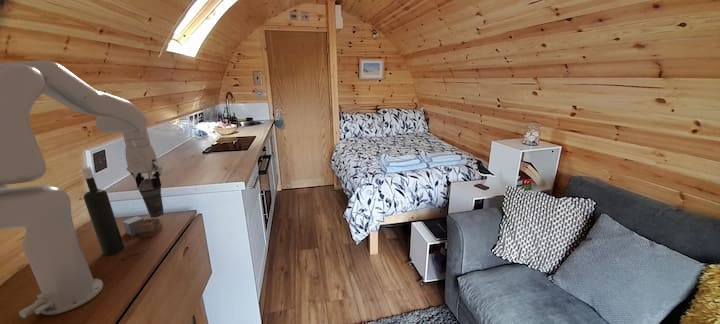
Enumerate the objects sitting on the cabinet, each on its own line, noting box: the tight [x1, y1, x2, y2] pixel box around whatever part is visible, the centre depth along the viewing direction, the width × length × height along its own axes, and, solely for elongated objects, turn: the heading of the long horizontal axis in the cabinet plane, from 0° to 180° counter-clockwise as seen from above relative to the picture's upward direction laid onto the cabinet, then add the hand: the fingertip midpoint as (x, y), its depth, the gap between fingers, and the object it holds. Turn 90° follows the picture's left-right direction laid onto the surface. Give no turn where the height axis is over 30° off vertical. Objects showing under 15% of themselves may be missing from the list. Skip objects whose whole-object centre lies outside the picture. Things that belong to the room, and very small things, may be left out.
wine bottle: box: [81, 166, 125, 257], centre depth 97 cm, size 6×6×30 cm
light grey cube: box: [122, 216, 145, 236], centre depth 114 cm, size 5×5×5 cm
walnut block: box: [137, 217, 163, 238], centre depth 111 cm, size 5×5×5 cm
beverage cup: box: [138, 173, 165, 219], centre depth 117 cm, size 7×7×20 cm
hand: (149, 186), depth 117 cm, fingers closed on beverage cup, 6 cm apart
